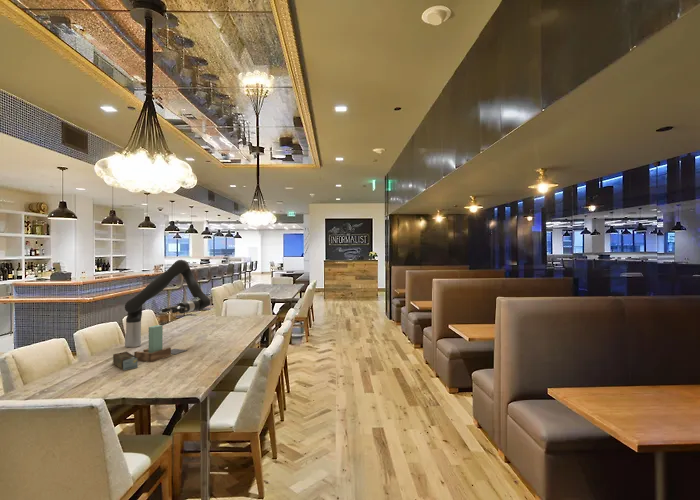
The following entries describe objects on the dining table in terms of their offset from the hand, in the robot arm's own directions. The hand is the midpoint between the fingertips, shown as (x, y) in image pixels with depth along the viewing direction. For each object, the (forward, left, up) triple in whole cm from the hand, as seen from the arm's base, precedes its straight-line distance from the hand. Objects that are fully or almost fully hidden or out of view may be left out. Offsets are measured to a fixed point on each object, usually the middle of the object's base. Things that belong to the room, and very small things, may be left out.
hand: (167, 311), depth 249 cm
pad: (+3, +5, -28) cm, 29 cm away
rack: (-6, -7, -28) cm, 29 cm away
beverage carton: (-17, -23, -28) cm, 40 cm away
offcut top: (-9, -6, -25) cm, 27 cm away
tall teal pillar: (-5, -9, -28) cm, 30 cm away
